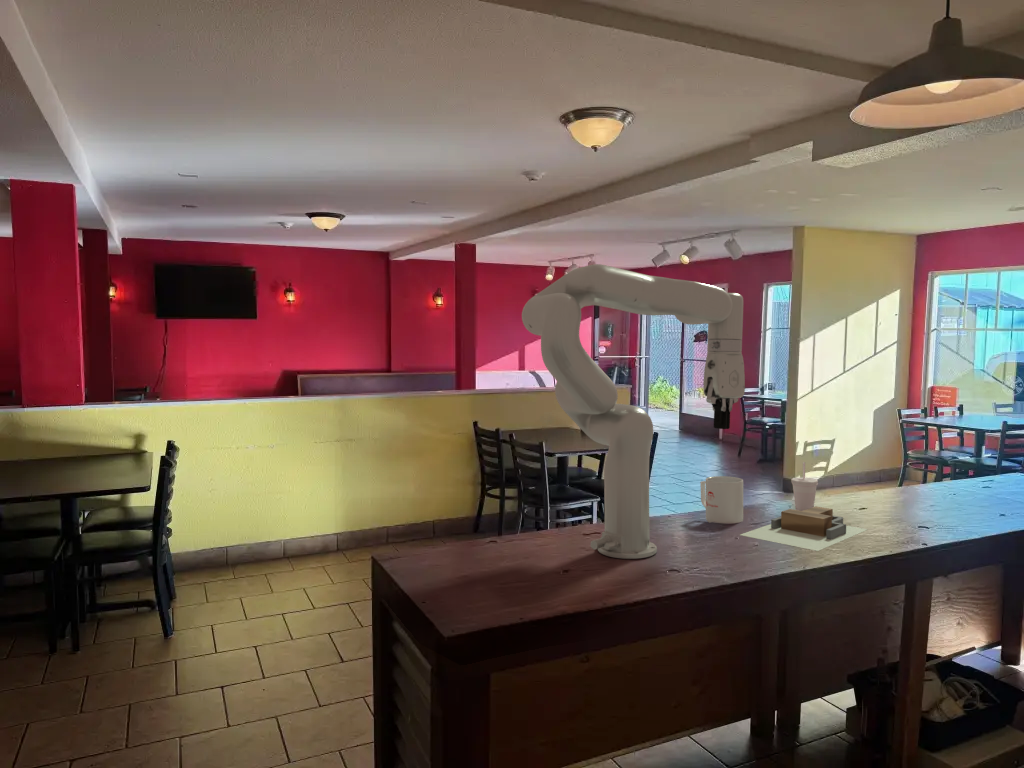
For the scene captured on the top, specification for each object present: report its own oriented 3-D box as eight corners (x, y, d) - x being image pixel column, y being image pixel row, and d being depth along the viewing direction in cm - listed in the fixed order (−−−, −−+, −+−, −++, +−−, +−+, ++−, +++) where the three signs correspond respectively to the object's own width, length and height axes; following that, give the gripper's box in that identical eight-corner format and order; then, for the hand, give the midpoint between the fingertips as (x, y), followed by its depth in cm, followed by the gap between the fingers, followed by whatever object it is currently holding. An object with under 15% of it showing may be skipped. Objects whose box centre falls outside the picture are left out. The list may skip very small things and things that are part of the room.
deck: (817, 556, 147) (817, 541, 147) (739, 540, 160) (739, 526, 160) (867, 534, 163) (867, 520, 163) (793, 521, 177) (793, 508, 177)
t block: (823, 536, 158) (823, 518, 157) (781, 528, 165) (781, 511, 165) (845, 528, 165) (845, 511, 165) (803, 520, 172) (803, 504, 172)
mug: (751, 525, 174) (751, 480, 173) (725, 530, 169) (725, 484, 169) (714, 515, 184) (714, 473, 183) (689, 520, 180) (689, 476, 179)
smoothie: (813, 514, 184) (813, 460, 183) (821, 520, 177) (822, 464, 177) (787, 514, 184) (788, 460, 184) (795, 520, 178) (795, 464, 177)
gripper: (719, 346, 153) (716, 431, 154) (757, 349, 163) (754, 428, 163) (690, 346, 159) (687, 428, 159) (729, 349, 168) (726, 425, 169)
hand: (721, 428), depth 161 cm, fingers closed
